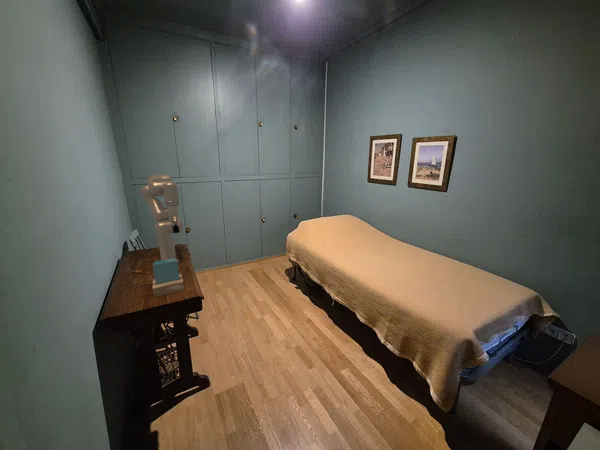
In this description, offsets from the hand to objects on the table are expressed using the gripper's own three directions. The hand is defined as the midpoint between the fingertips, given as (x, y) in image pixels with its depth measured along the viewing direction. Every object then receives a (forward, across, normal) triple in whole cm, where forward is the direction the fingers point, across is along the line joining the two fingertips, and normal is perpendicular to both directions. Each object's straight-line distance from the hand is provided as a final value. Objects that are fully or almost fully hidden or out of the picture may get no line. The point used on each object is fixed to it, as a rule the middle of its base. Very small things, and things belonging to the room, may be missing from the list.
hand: (175, 230), depth 146 cm
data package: (+25, +14, -8) cm, 30 cm away
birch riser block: (+30, +14, -8) cm, 34 cm away
